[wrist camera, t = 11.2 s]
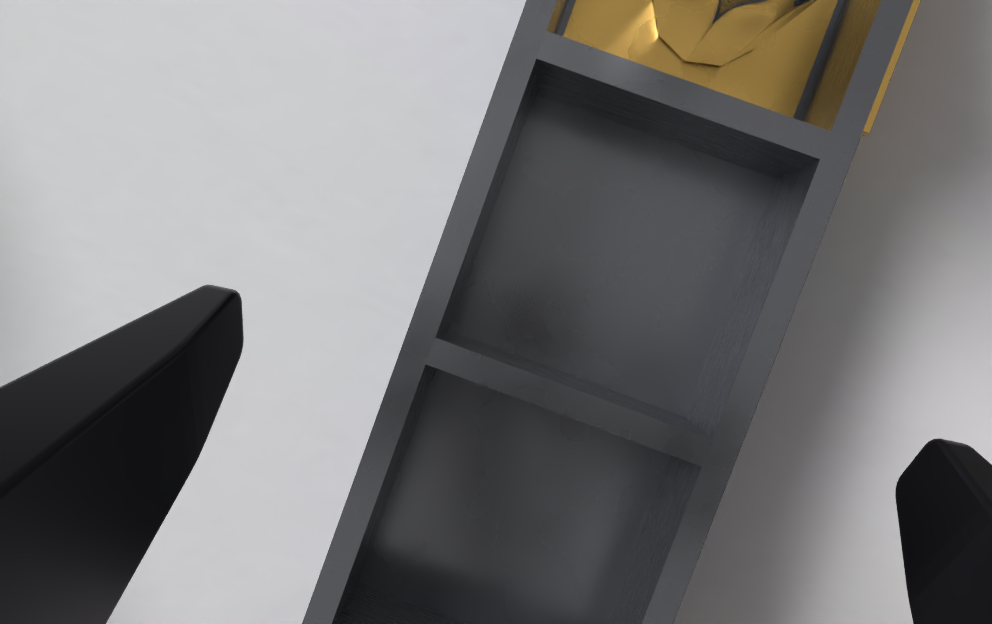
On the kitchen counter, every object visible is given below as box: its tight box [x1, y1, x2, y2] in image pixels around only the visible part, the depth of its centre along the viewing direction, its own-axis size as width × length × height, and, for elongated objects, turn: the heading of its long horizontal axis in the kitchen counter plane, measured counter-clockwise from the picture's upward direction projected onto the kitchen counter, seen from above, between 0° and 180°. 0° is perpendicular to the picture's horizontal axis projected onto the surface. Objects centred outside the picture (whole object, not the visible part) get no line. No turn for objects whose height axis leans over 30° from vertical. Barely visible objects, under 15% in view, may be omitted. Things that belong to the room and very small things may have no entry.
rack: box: [302, 0, 921, 624], centre depth 20 cm, size 24×9×4 cm, turn 160°
